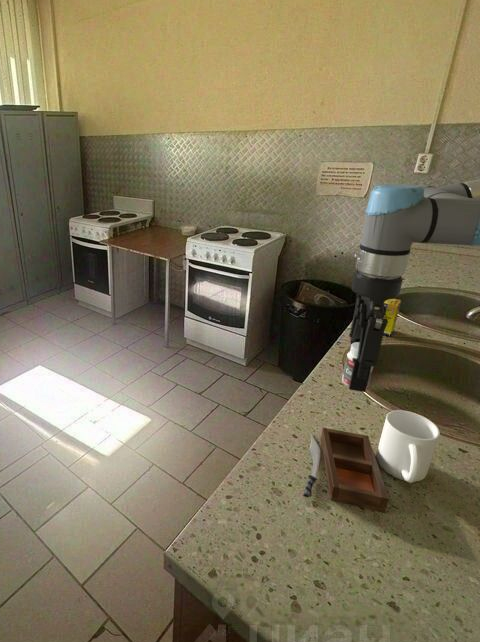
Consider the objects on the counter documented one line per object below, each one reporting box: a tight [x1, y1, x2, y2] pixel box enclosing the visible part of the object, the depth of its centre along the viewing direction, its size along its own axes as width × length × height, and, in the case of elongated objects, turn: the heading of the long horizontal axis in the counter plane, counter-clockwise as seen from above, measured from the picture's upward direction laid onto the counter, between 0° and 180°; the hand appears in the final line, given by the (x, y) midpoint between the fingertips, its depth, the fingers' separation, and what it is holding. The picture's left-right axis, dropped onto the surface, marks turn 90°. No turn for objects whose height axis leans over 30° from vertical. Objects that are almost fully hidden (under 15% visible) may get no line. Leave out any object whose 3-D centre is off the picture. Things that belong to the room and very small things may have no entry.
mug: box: [376, 409, 441, 484], centre depth 74 cm, size 12×8×10 cm
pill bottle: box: [341, 342, 374, 389], centre depth 78 cm, size 5×5×8 cm
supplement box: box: [383, 298, 402, 336], centre depth 128 cm, size 6×6×11 cm
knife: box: [302, 432, 321, 498], centre depth 79 cm, size 19×2×1 cm, turn 152°
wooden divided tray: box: [319, 427, 390, 514], centre depth 76 cm, size 8×16×3 cm, turn 161°
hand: (354, 381), depth 79 cm, fingers closed on pill bottle, 5 cm apart
